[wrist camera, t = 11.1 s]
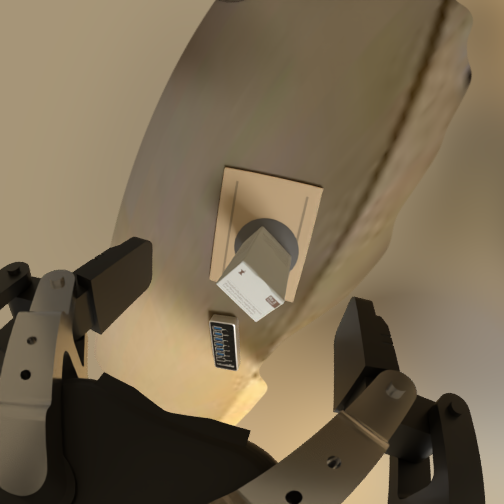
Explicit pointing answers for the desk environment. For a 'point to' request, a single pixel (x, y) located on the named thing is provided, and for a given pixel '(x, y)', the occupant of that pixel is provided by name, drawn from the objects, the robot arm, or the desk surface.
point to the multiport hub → (225, 341)
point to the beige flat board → (264, 218)
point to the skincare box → (257, 275)
